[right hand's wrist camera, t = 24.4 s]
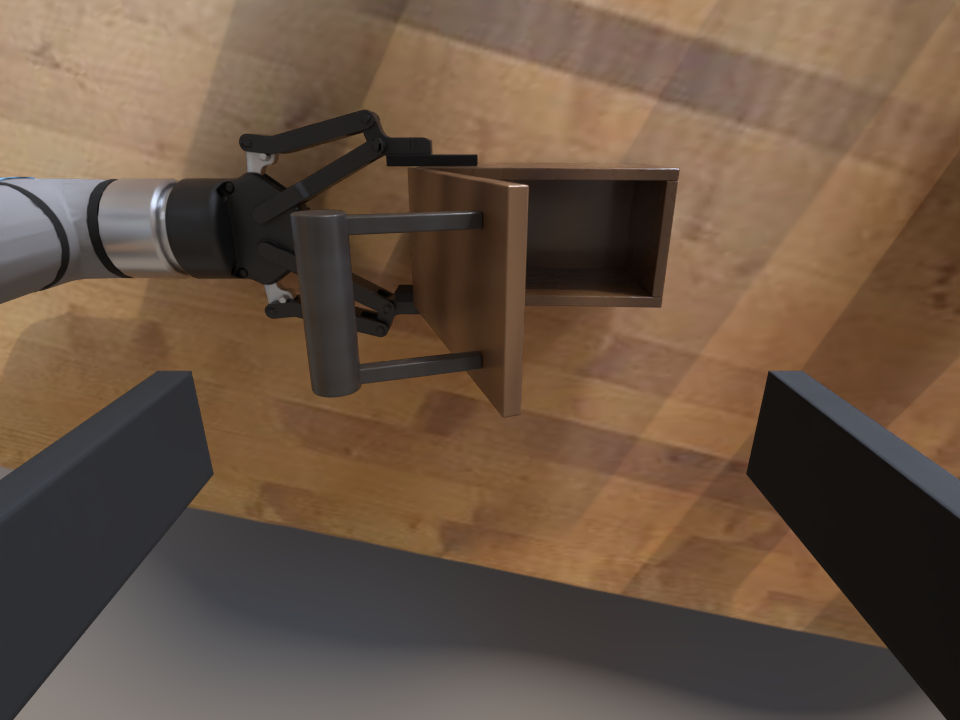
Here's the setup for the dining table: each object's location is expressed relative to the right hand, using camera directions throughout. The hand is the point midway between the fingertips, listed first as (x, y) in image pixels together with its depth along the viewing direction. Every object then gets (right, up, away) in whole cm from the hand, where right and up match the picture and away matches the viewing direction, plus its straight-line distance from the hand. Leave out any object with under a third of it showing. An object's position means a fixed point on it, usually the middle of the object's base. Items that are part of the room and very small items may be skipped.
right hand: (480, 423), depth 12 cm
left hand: (0, +12, +29) cm, 31 cm away
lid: (-1, +7, +17) cm, 18 cm away
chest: (+5, +14, +34) cm, 37 cm away
